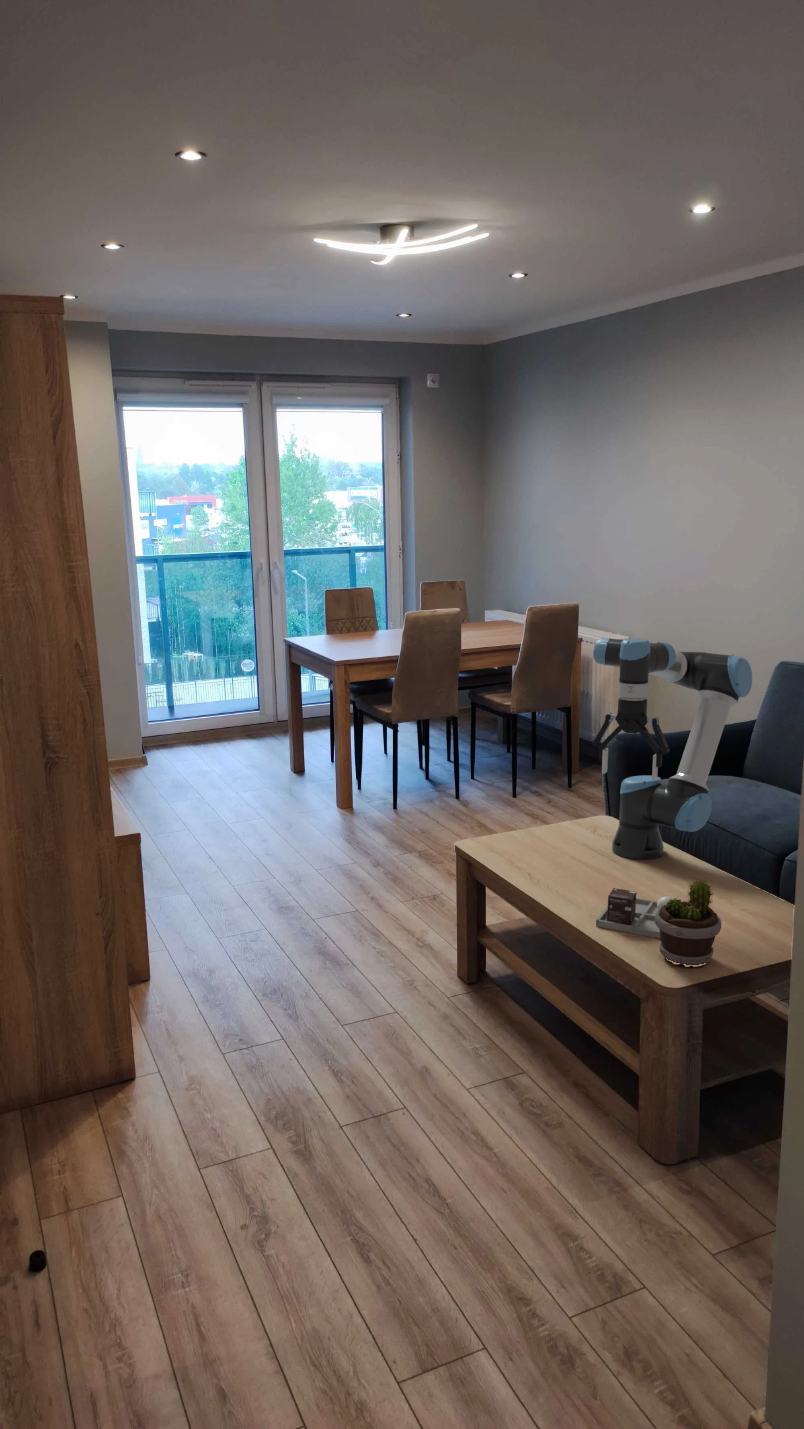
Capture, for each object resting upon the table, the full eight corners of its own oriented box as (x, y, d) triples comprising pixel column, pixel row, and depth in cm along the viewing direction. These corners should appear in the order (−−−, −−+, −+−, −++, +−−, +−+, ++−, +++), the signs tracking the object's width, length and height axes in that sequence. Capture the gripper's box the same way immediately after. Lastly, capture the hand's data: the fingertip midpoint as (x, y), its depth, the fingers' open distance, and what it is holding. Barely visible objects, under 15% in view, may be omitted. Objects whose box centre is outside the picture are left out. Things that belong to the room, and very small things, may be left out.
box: (606, 923, 252) (607, 895, 250) (611, 914, 257) (612, 887, 256) (630, 927, 250) (632, 899, 248) (635, 918, 255) (636, 891, 253)
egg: (659, 909, 260) (659, 892, 260) (677, 912, 258) (678, 895, 257) (654, 916, 256) (655, 898, 255) (673, 919, 254) (674, 901, 253)
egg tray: (617, 900, 268) (617, 894, 268) (689, 913, 259) (690, 907, 259) (596, 926, 252) (596, 920, 251) (672, 941, 243) (673, 934, 243)
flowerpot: (681, 978, 224) (687, 894, 220) (639, 951, 237) (643, 871, 233) (733, 967, 229) (739, 884, 225) (689, 940, 243) (694, 862, 239)
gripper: (582, 696, 269) (580, 773, 273) (677, 704, 258) (672, 784, 262) (591, 691, 276) (588, 766, 280) (683, 699, 264) (679, 777, 269)
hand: (629, 775), depth 271 cm, fingers open, 13 cm apart
